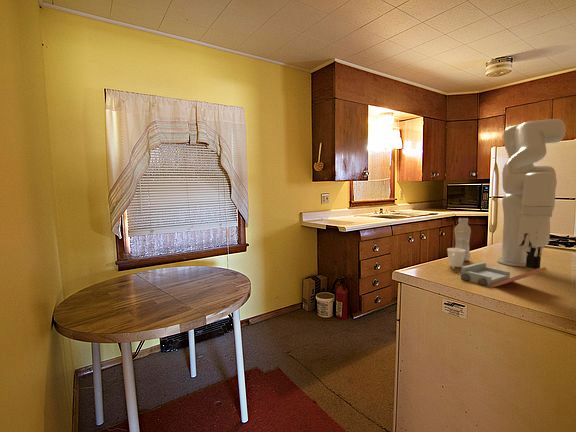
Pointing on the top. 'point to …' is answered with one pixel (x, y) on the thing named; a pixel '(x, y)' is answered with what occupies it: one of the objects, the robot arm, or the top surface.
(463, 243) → the plastic bottle
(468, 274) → the flatbed
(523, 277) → the plate
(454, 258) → the cup
